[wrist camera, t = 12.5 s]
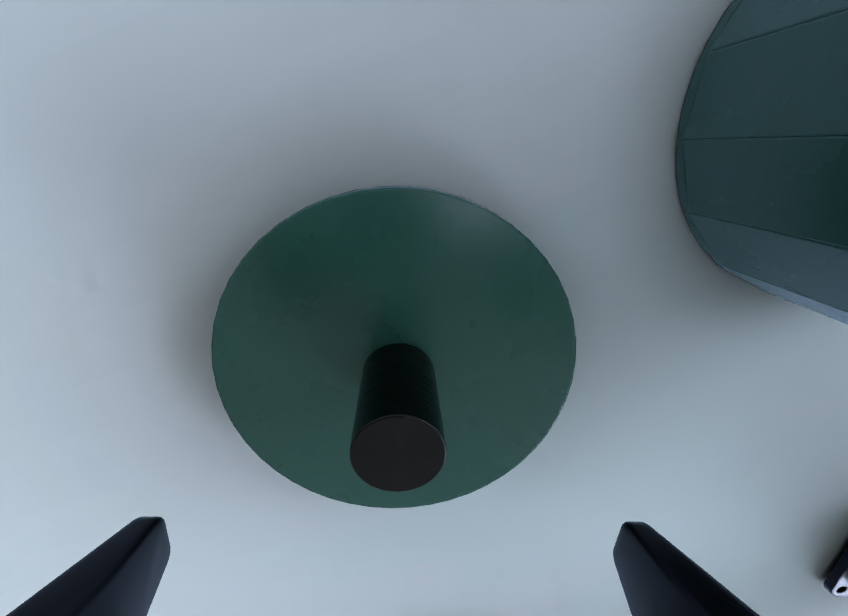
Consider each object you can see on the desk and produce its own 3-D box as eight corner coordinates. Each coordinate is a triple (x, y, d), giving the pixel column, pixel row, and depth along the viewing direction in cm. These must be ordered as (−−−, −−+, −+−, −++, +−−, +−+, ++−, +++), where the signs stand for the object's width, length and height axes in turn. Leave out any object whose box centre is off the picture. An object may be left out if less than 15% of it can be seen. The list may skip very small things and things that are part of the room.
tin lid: (531, 486, 17) (580, 612, 13) (241, 482, 16) (178, 616, 12) (597, 198, 13) (710, 228, 8) (205, 168, 12) (81, 183, 7)
